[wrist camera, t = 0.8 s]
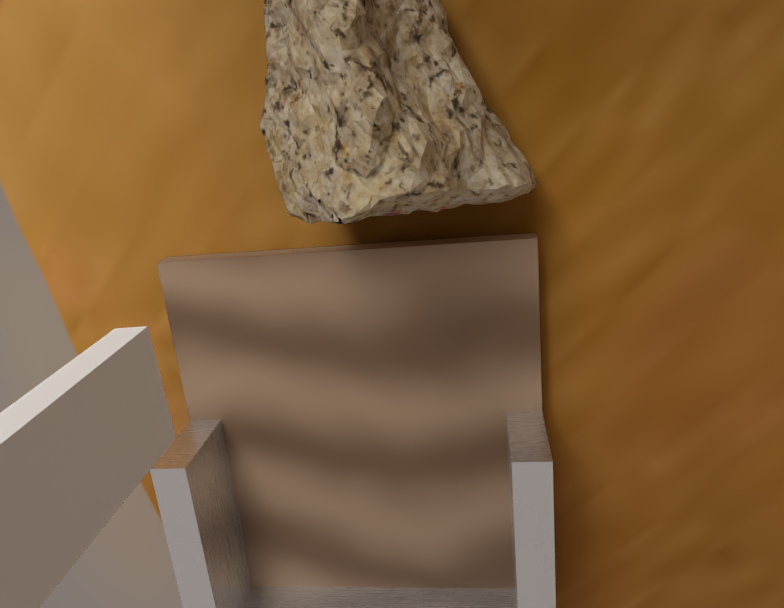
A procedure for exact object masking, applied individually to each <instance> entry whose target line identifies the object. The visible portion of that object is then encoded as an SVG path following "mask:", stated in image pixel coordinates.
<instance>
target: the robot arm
mask: <svg viewBox="0 0 784 608" xmlns="http://www.w3.org/2000/svg"><path fill="white" fill-rule="evenodd" d="M175 438H176V435H175V431H174V427H173V423H172V419H171V415H170V411H169V407H168V403H167V400H166V396H165V392H164V388H163V384H162V380H161V376H160V372H159V368H158V365H157V361H156V357H155V353H154V349H153V345H152V341H151V337H150V333H149V330H148V326H144V327H130V328H116V329H114V330H112V331H111V332H110V333H108V334H107V335H106V336H104V337H103V338H102V339H100V340H99V341H97V342H96V343H95V344H93V345H92V346H91V347H89V348H88V349H87V350H85V351H84V352H83V353H81V354H80V355H78V356H77V357H76V358H75V359H73V360H72V361H70V362H69V363H68V364H66V365H65V366H63V367H62V368H61V369H60V370H58V371H57V372H55V373H54V374H53V375H51V376H50V377H49V378H47V379H46V380H44V381H43V382H42V383H41V384H39V385H38V386H36V387H35V388H34V389H32V390H31V391H30V392H28V393H27V394H25V395H24V396H23V397H22V398H20V399H19V400H17V401H16V402H15V403H13V404H12V405H10V406H9V407H8V408H6V409H5V410H4V411H2V412H1V413H0V608H40V606H41V605H42V604H43V603H44V601H45V600H46V599H47V597H48V596H49V595H50V594H51V593H52V591H53V590H54V589H55V588H56V586H57V585H58V584H59V582H60V581H61V580H62V579H63V577H64V576H65V575H66V574H67V573H68V571H69V570H70V569H71V568H72V566H73V565H74V564H75V563H76V561H77V560H78V559H79V558H80V556H81V555H82V554H83V552H84V551H85V550H86V549H87V548H88V546H89V545H90V544H91V543H92V541H93V540H94V539H95V538H96V536H97V535H98V534H99V533H100V531H101V530H102V529H103V527H104V526H105V525H106V524H107V523H108V521H109V520H110V519H111V517H112V516H113V515H114V514H115V513H116V511H117V510H118V509H119V508H120V506H121V505H122V504H123V503H124V501H125V500H126V499H127V498H128V496H129V495H130V494H131V493H132V491H133V490H134V489H135V488H136V486H137V485H138V484H139V483H140V481H141V480H142V479H143V478H144V476H145V475H146V474H147V473H148V471H149V470H150V469H151V468H152V466H153V465H154V464H155V463H156V461H157V460H158V459H159V458H160V456H161V455H162V454H163V453H164V451H165V450H166V449H167V448H168V446H169V445H170V444H171V443H172V441H173V440H174V439H175Z"/></svg>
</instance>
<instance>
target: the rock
mask: <svg viewBox="0 0 784 608" xmlns="http://www.w3.org/2000/svg"><path fill="white" fill-rule="evenodd" d="M264 4H265V5H266V7H264V16H265V18H264V24H265V33H266V37H267V36H268V38H266V55H267V61H268V65H267V66H268V72H267V75H266V79H265V86H266V94H265V101H264V107H263V112H262V117H261V122H260V129H261V131H262V133H263V135H264V136H265V142H266V148H267V151H268V153H269V156H270V158H271V161H272V164H273V173H274V176H275V179H276V182H277V186H278V188H279V191H280V193H281V196H282V198H283V201H284V203H285V206H286V208H287V210H288V212H289V214H290V216H293V217H297V218H299V219H301V220H303V221H305V222H307V223H308V224H311V223H315V222H318V221H322V222H326V221H327V222H328V223H335V224H346V223H351V222H356V221H360V220H362V219H365V218H367V217H370V216H395V215H400V214H410V213H411V212H413V211H431V212H439V211H441V210H443V209H451V208H456V207H459V206H461V205H464V204H466V203H467V204H473V205H484V204H487V203H499V202H506V201H509V200H512V199H513V198H516V197H518V196H520V195H523V194H527V193H529V192H530V190H531V189H533V188H535V187H536V184H537V180H536V178H535V176H534V173H533V171H532V169H531V167H530V166H529V164H528V162H527V159H526V157H525V156H524V155H523V153H522V152H521V151H520V150H519V149H518V148H517V147H516V146H515V145H514V144H513V143H512V142H511V140H510V136H509V133H508V131H507V129H506V128H505V126H504V125H503V124H502V123H501V121H500V119H499V118H498V117H497V116H496V115H495V114H494V113H493V112H492V111H491V110H490V109H489V107H488V106H486V105H485V104H484V98H483V97H482V95H481V93H480V89H479V88H478V86H477V85H476V83H475V82H474V80H473V78H472V76H471V74H470V72H469V70H468V68H467V67H466V65H465V63H464V62H463V60H462V58H461V57H460V55H459V53H458V50H457V48H456V46H455V44H454V41H453V40H452V38H451V36H450V34H449V31H448V15H447V13H446V12H445V10H444V9H443V7H442V5H441V4H440V2H439V0H265V1H264Z"/></svg>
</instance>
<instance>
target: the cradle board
mask: <svg viewBox="0 0 784 608" xmlns="http://www.w3.org/2000/svg"><path fill="white" fill-rule="evenodd" d="M157 267H158V271H159V276H160V281H161V285H162V290H163V295H164V300H165V304H166V309H167V314H168V319H169V323H170V328H171V333H172V338H173V342H174V347H175V352H176V357H177V361H178V366H179V371H180V375H181V380H182V385H183V390H184V394H185V399H186V404H187V409H188V413H189V418H190V421H199V420H221V421H222V427H223V432H224V437H225V442H226V447H227V452H228V457H229V462H230V468H231V473H232V478H233V483H234V488H235V493H236V498H237V504H238V509H239V514H240V519H241V524H242V529H243V534H244V540H245V545H246V550H247V555H248V560H249V565H250V570H251V575H252V581H253V586H254V587H372V588H496V589H514V569H513V546H512V524H511V502H510V479H509V457H508V434H507V412H510V411H542V383H541V344H540V305H539V267H538V238H537V235H536V233H523V234H508V235H493V236H478V237H463V238H448V239H432V240H417V241H402V242H387V243H372V244H357V245H341V246H326V247H311V248H296V249H281V250H266V251H250V252H235V253H220V254H205V255H190V256H175V257H166V258H164V259H163V260H161V261H159V262H158V263H157Z"/></svg>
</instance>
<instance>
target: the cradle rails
mask: <svg viewBox="0 0 784 608" xmlns="http://www.w3.org/2000/svg"><path fill="white" fill-rule="evenodd" d="M507 434H508V457H509V479H510V502H511V524H512V546H513V569H514V589H496V588H372V587H254V586H253V581H252V575H251V570H250V565H249V560H248V555H247V550H246V545H245V540H244V534H243V529H242V524H241V519H240V514H239V509H238V504H237V498H236V493H235V488H234V483H233V478H232V473H231V468H230V462H229V457H228V452H227V447H226V442H225V437H224V432H223V427H222V421H221V420H199V421H189V423H188V424H187V425H186V426H185V427H184V429H183V430H182V431H181V432H180V433H179V435H178V436H177V437H176V438H175V439H174V441H173V442H172V443H171V444H170V445H169V447H168V448H167V449H166V450H165V451H164V453H163V454H162V455H161V456H160V458H159V459H158V460H157V461H156V463H155V464H154V465H153V466H152V468H151V469H150V472H151V476H152V480H153V484H154V489H155V493H156V497H157V501H158V505H159V510H160V514H161V518H162V522H163V526H164V530H165V534H166V539H167V543H168V547H169V551H170V555H171V559H172V564H173V568H174V572H175V577H176V581H177V585H178V589H179V593H180V598H181V602H182V606H183V608H556V589H555V541H554V493H553V460H552V455H551V450H550V446H549V441H548V436H547V431H546V426H545V422H544V417H543V412H542V411H510V412H507Z"/></svg>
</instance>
